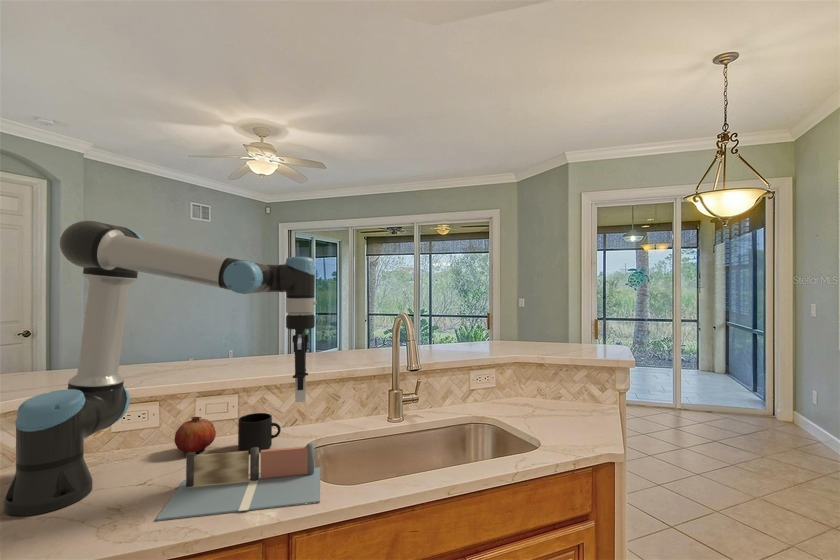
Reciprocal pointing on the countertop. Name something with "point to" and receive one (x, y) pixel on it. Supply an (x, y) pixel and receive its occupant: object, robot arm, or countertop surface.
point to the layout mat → (242, 496)
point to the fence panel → (287, 461)
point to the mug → (256, 431)
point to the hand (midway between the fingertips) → (300, 401)
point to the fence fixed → (221, 467)
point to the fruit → (195, 435)
